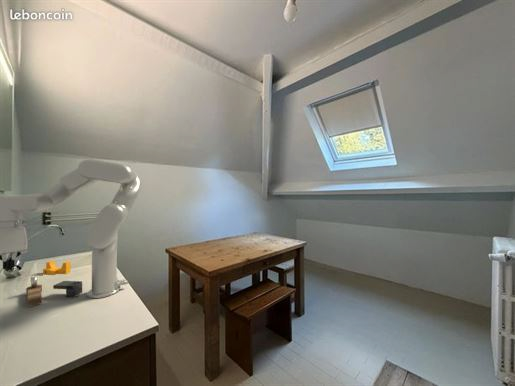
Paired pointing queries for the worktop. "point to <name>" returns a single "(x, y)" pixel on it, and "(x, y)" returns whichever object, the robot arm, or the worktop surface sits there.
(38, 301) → the link
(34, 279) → the pintle
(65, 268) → the pipe clamp
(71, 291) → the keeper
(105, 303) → the worktop surface
